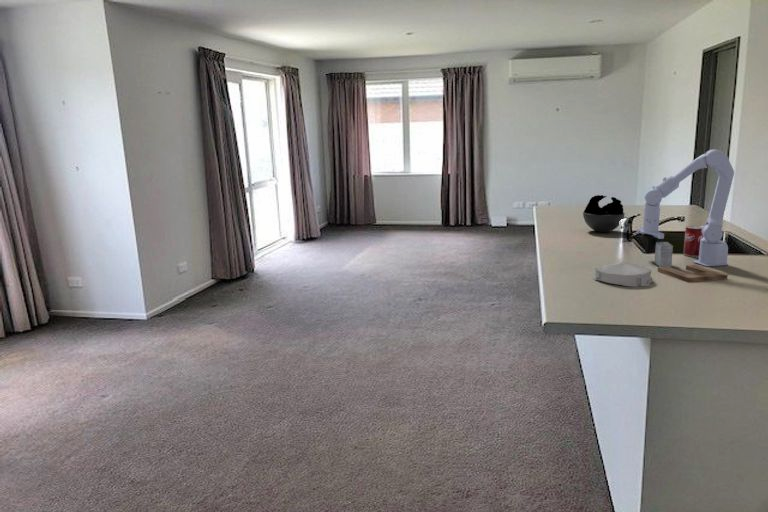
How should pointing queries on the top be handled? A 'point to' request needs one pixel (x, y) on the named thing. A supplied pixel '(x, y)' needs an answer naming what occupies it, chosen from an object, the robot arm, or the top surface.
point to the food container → (624, 274)
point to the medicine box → (663, 254)
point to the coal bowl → (603, 214)
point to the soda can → (692, 241)
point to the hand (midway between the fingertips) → (648, 253)
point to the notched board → (700, 274)
